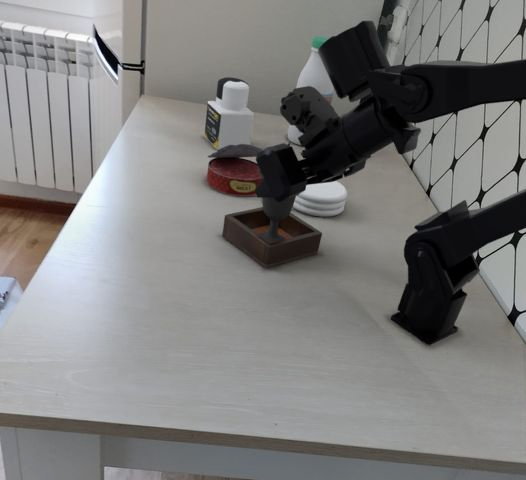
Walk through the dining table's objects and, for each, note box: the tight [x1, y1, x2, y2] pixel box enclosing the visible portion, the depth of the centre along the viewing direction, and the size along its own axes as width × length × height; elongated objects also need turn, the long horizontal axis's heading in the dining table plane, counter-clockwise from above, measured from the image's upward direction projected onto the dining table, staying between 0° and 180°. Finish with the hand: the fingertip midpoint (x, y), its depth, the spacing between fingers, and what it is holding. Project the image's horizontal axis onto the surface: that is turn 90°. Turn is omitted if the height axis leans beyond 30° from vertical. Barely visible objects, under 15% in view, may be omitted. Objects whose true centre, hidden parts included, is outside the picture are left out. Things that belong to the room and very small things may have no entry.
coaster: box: [292, 180, 348, 218], centre depth 99 cm, size 10×10×4 cm
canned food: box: [206, 144, 264, 197], centre depth 100 cm, size 11×10×10 cm
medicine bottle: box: [204, 76, 255, 151], centre depth 114 cm, size 7×7×12 cm
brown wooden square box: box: [221, 206, 323, 270], centre depth 85 cm, size 10×10×4 cm
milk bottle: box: [287, 36, 335, 146], centre depth 120 cm, size 8×8×20 cm
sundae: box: [258, 142, 296, 243], centre depth 81 cm, size 7×7×15 cm
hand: (272, 188), depth 82 cm, fingers closed on sundae, 6 cm apart
